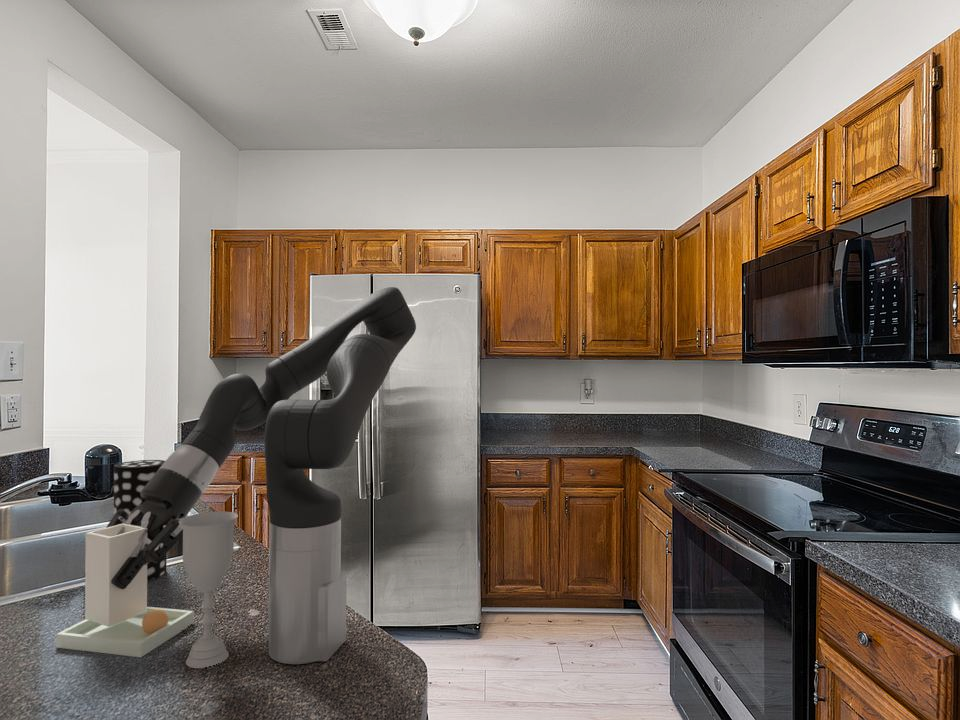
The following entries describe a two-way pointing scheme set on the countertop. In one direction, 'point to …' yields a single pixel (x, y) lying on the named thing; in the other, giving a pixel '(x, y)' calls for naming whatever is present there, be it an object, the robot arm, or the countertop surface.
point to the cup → (102, 566)
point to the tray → (123, 634)
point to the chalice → (207, 574)
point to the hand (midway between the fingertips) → (103, 582)
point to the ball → (154, 621)
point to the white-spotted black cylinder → (136, 496)
